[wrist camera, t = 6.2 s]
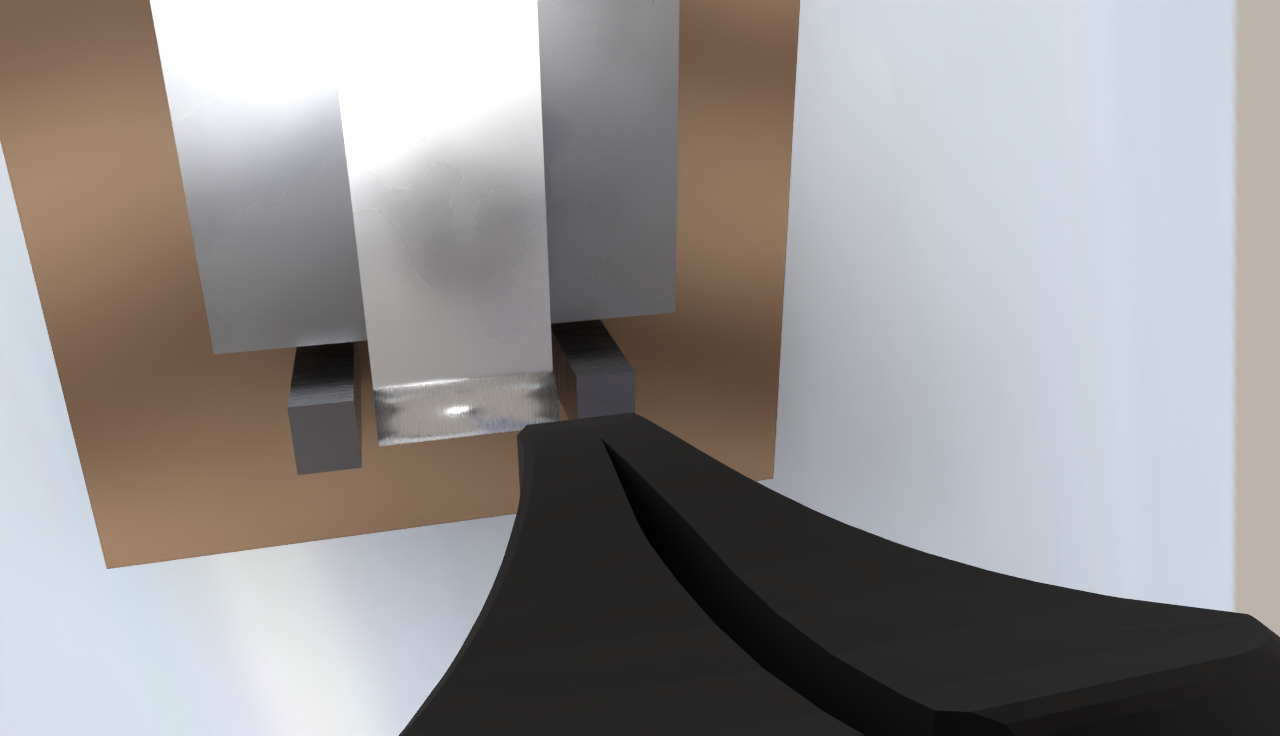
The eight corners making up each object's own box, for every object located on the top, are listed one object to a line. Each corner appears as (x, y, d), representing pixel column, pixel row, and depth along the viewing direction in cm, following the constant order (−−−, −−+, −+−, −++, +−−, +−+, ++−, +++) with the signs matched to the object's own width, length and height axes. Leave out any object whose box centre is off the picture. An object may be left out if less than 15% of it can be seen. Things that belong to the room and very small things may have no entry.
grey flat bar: (547, 405, 18) (560, 435, 17) (378, 424, 17) (380, 456, 16) (504, -526, 13) (519, -574, 12) (265, -552, 12) (256, -607, 11)
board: (750, 449, 24) (773, 478, 23) (122, 529, 21) (107, 569, 19) (798, -628, 16) (838, -680, 15) (-186, -774, 13) (-248, -857, 12)
